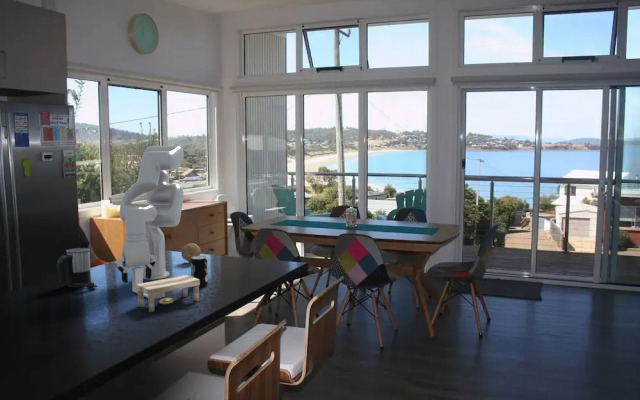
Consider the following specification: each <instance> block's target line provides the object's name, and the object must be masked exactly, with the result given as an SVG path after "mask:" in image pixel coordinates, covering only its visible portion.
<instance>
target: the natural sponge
mask: <svg viewBox="0 0 640 400" xmlns="http://www.w3.org/2000/svg"><path fill="white" fill-rule="evenodd" d="M201 253H202V252H201V247H200V246H199V244H196V243H192V242H190V243H187V244H185V245H184V246H183V247H182V248H181V258H182V259H184V261H187V262H188V263H189V264H191V260H192V257H194V256H201Z"/></svg>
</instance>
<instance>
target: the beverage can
mask: <svg viewBox="0 0 640 400" xmlns="http://www.w3.org/2000/svg"><path fill="white" fill-rule="evenodd" d="M208 274H209V273H208V259H207V256H205V255H200V256H194V257H192V260H191V263H190V276H191V277H194V278H196V279H199V280H200V285H199V289H200V288H205V287H207V286H208V284H209V281H208V280H209V279H208V278H209V277H208V276H209V275H208Z"/></svg>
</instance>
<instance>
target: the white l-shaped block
mask: <svg viewBox="0 0 640 400" xmlns="http://www.w3.org/2000/svg"><path fill="white" fill-rule="evenodd" d="M131 280H132V282H131V283H132V289H131V291H132V292H133V293H136V294H138V291H137V290H136V284H141V283H144V279H143V269H142V266H137V267H131ZM143 294H144V297H145V298H147V299H148V295H147V294H145V293H143ZM162 297H163V298H166V292H164V293H160V294H155V295H154V300H157V299H163V298H162Z"/></svg>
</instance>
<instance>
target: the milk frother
mask: <svg viewBox="0 0 640 400" xmlns="http://www.w3.org/2000/svg"><path fill="white" fill-rule="evenodd" d="M90 251H91V248H88V247H77V248H70V249H66V254H64V255H62V256H60V257H58V259H57V262H56V268H57V269H56V270H57V278H58V282H59V283H60V284H65V283H66V282H67V286H68V287H69V288H87V289H89V290H94V288H97V287H98V285H97V284H96V283H94V282H92V278H91V277H92V276H91V258H90V257H91V256H90ZM65 264H66V265H67V275H66V267H65ZM66 276H67V279H66Z"/></svg>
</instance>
